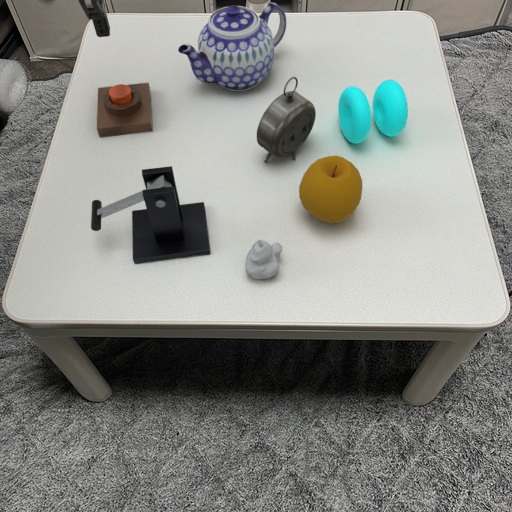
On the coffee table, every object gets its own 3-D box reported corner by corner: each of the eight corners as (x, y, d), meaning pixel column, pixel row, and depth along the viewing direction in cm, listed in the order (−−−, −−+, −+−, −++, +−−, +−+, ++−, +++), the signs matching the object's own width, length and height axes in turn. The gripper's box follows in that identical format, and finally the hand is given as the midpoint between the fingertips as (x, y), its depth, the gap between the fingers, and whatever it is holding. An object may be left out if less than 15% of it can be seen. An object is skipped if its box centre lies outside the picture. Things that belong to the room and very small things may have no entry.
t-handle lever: (97, 234, 77) (86, 225, 75) (97, 208, 80) (87, 200, 78) (173, 202, 74) (164, 193, 72) (171, 177, 77) (162, 167, 75)
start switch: (99, 137, 97) (93, 120, 94) (100, 96, 104) (95, 79, 101) (152, 131, 98) (148, 114, 95) (150, 91, 105) (146, 74, 101)
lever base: (134, 264, 81) (115, 212, 70) (133, 215, 86) (115, 160, 76) (210, 254, 82) (202, 201, 71) (204, 206, 87) (196, 150, 77)
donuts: (402, 146, 95) (416, 102, 87) (351, 156, 94) (360, 112, 85) (382, 111, 100) (392, 66, 92) (333, 120, 99) (339, 76, 91)
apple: (291, 230, 84) (295, 181, 74) (304, 187, 89) (309, 136, 80) (351, 243, 83) (362, 194, 73) (360, 198, 88) (372, 147, 78)
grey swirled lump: (236, 268, 80) (234, 238, 73) (268, 246, 82) (269, 214, 76) (259, 291, 78) (259, 262, 71) (291, 268, 80) (294, 237, 73)
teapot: (265, 38, 115) (265, -31, 102) (307, 72, 107) (313, 3, 95) (166, 79, 107) (153, 10, 94) (205, 120, 100) (196, 50, 87)
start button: (111, 106, 97) (108, 98, 95) (111, 92, 99) (109, 85, 97) (132, 104, 97) (130, 96, 95) (132, 90, 99) (130, 83, 98)
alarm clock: (296, 132, 97) (301, 56, 84) (317, 146, 95) (326, 70, 82) (255, 161, 93) (253, 86, 80) (276, 177, 91) (278, 102, 77)
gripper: (49, -98, 76) (83, 14, 90) (41, -55, 69) (79, 59, 83) (100, -102, 77) (126, 10, 91) (98, -60, 69) (126, 55, 83)
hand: (103, 33), depth 87 cm, fingers closed
